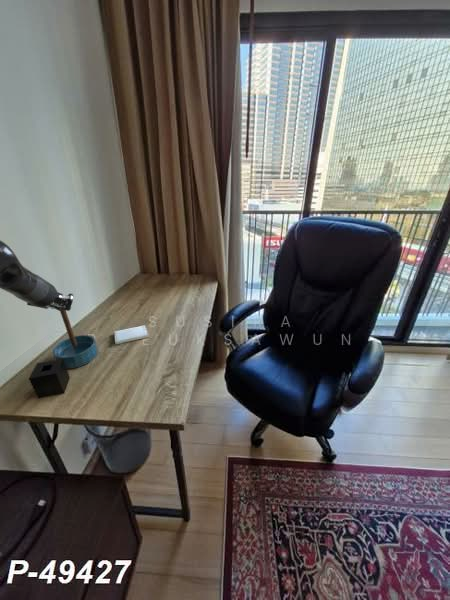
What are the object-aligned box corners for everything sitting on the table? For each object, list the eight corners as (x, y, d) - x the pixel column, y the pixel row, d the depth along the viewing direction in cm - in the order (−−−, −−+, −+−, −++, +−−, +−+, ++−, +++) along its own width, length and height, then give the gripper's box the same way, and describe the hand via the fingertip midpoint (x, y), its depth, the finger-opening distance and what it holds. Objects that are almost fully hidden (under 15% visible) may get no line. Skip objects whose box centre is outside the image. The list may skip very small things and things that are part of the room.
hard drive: (114, 341, 98) (147, 334, 102) (114, 331, 104) (144, 324, 109) (115, 345, 98) (148, 337, 103) (115, 334, 105) (145, 327, 109)
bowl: (52, 373, 84) (47, 360, 82) (63, 350, 96) (59, 338, 93) (95, 365, 88) (91, 353, 85) (100, 344, 99) (97, 332, 97)
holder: (38, 398, 75) (28, 378, 71) (45, 382, 81) (37, 362, 77) (64, 393, 76) (56, 373, 73) (70, 377, 83) (62, 358, 79)
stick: (71, 347, 88) (55, 301, 80) (72, 344, 90) (57, 299, 82) (76, 346, 89) (61, 300, 81) (77, 343, 90) (62, 298, 82)
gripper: (61, 275, 71) (87, 296, 87) (8, 278, 69) (45, 299, 85) (59, 300, 68) (86, 317, 85) (4, 304, 67) (42, 320, 83)
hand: (65, 308), depth 85 cm, fingers closed on stick, 1 cm apart
